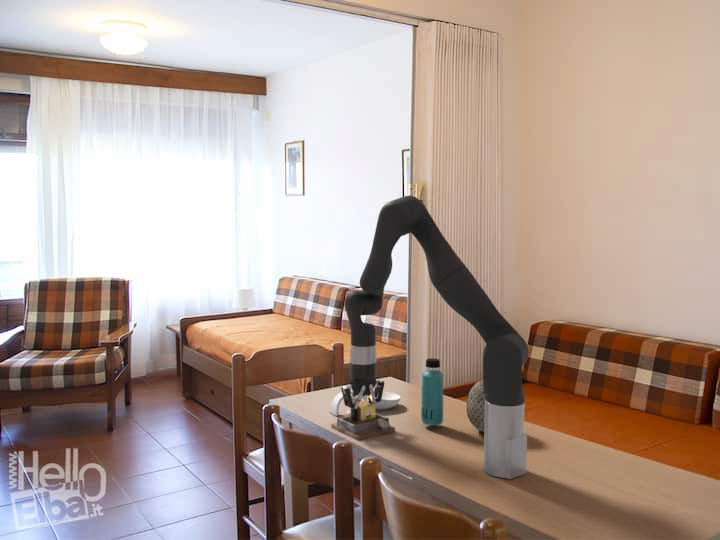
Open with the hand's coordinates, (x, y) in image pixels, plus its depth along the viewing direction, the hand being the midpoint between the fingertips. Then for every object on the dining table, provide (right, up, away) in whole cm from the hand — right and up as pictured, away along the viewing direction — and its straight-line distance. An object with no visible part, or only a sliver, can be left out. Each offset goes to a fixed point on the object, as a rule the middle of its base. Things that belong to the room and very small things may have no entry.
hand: (363, 418), depth 188 cm
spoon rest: (+1, -2, +19) cm, 20 cm away
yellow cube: (0, -1, 0) cm, 1 cm away
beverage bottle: (+20, -3, +3) cm, 20 cm away
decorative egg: (+35, -4, -1) cm, 35 cm away
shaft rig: (0, -3, 0) cm, 3 cm away
